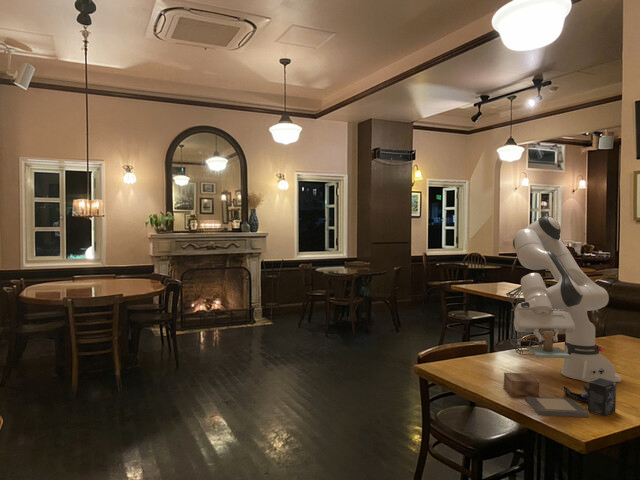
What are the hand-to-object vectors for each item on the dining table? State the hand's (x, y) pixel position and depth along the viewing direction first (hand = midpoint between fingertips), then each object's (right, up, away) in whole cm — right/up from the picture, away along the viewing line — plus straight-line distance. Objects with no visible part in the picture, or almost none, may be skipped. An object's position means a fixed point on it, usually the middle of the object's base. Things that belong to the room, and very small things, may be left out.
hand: (548, 341), depth 163 cm
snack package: (+17, -24, +8) cm, 30 cm away
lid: (0, -4, +1) cm, 4 cm away
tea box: (-4, -23, +15) cm, 27 cm away
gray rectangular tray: (+2, -23, -1) cm, 24 cm away
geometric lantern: (+22, -22, +70) cm, 77 cm away
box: (+17, -24, -4) cm, 29 cm away
